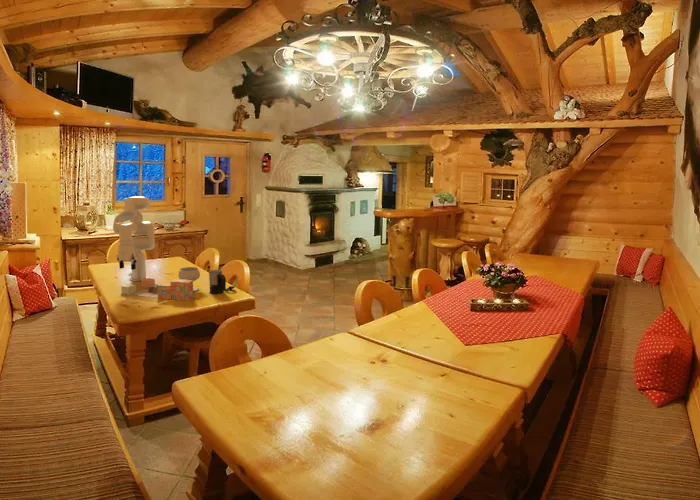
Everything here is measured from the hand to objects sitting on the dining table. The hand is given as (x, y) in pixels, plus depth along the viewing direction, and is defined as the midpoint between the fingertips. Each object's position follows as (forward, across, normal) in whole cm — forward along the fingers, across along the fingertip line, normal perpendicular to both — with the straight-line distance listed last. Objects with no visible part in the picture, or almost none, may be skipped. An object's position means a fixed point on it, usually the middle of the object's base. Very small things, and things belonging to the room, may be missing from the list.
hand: (127, 268), depth 323 cm
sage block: (+17, 0, 0) cm, 17 cm away
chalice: (+17, +30, +24) cm, 42 cm away
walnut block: (+16, +12, +10) cm, 23 cm away
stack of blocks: (+18, +34, +4) cm, 39 cm away
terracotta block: (+17, 0, +18) cm, 25 cm away
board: (+17, +12, +6) cm, 22 cm away
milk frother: (+18, +52, +30) cm, 62 cm away
